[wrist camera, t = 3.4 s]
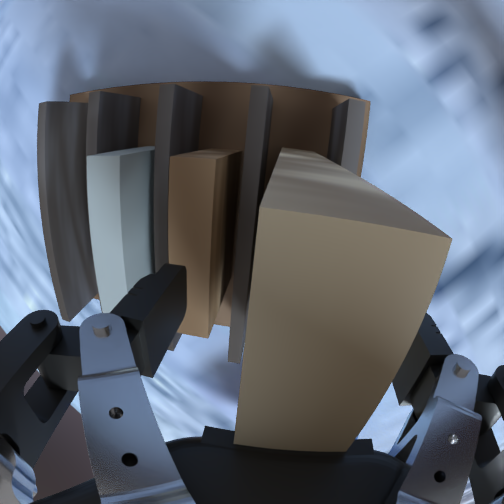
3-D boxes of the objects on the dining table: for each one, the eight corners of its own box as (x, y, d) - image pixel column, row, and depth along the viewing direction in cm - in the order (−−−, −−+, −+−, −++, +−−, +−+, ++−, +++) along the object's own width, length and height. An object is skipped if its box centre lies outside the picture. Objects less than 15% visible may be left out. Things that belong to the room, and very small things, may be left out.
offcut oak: (241, 150, 18) (215, 159, 11) (231, 277, 21) (208, 338, 15) (210, 148, 18) (169, 156, 11) (204, 273, 21) (172, 331, 15)
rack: (364, 103, 17) (398, 90, 11) (321, 327, 24) (328, 383, 18) (81, 95, 18) (26, 93, 12) (90, 287, 25) (52, 324, 19)
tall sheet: (313, 151, 17) (452, 239, 2) (291, 291, 21) (284, 520, 6) (282, 147, 17) (258, 206, 3) (264, 288, 21) (225, 514, 6)
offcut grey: (174, 146, 18) (119, 155, 12) (172, 268, 21) (131, 322, 15) (148, 146, 18) (86, 156, 12) (149, 264, 22) (103, 314, 15)
